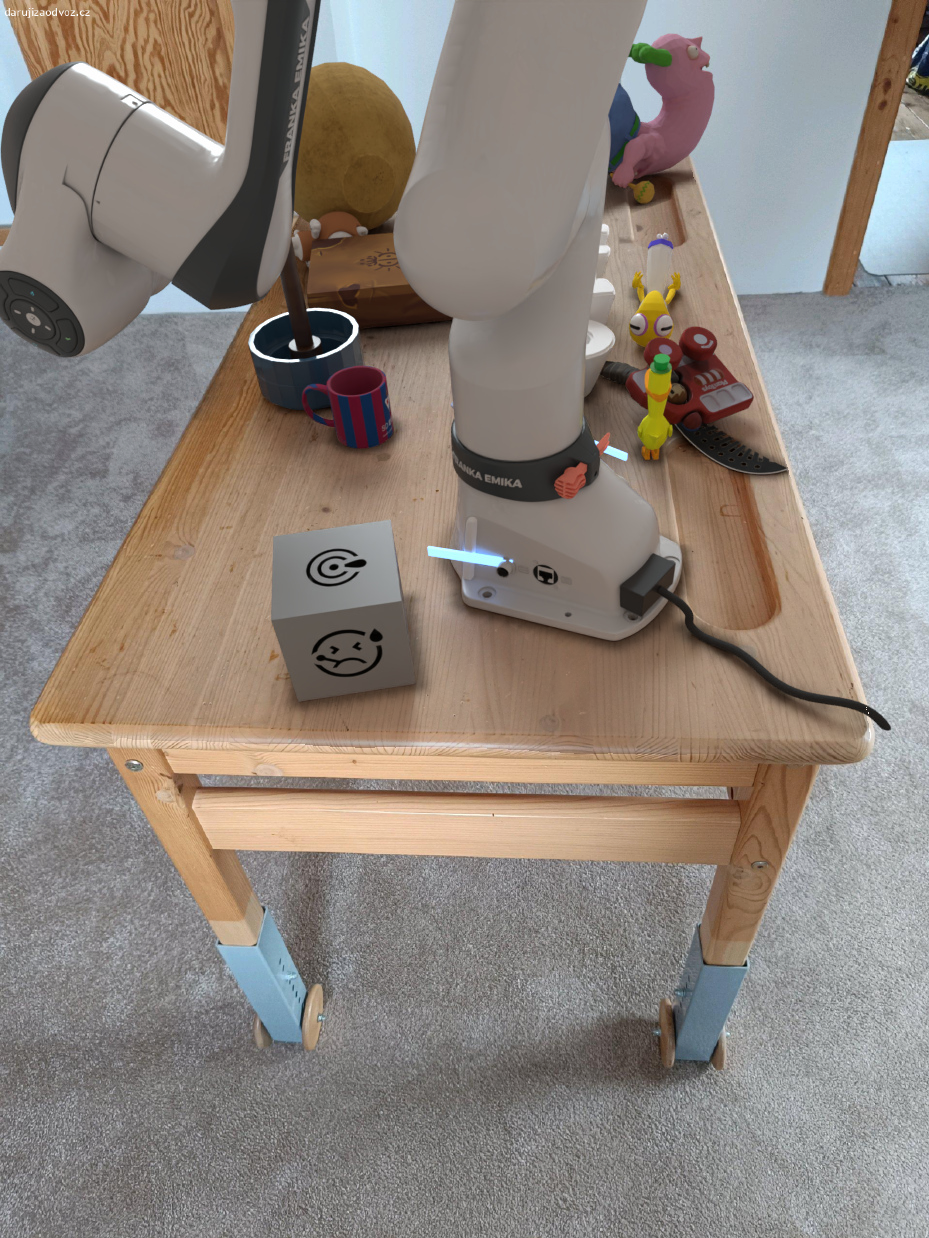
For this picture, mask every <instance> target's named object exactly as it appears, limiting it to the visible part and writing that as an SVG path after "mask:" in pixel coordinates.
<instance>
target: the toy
mask: <svg viewBox="0 0 929 1238" xmlns="http://www.w3.org/2000/svg"><path fill="white" fill-rule="evenodd" d="M702 42H703V36H697V37H694V38H689V37H688V38H687V37H685V36H682V35H680V34H678V33H665V34H663V35H660V36H659V37H658V38H657V39H655V40H654V41H653V42H652V44H649V43H646V42H638V43H633V45H632V47H631V50H630V53H629V56H628V58H631V59H632V61H633V62H635V63H637V64H642V65H644V70H645V76H646V80H647V82H648V83H649V85H650V86H651V87H652V88H653V89H654V91H655V92H656V93H658V94H659V95H660V97H661V101H662V105H661V109H660V111H659V113H658V114H657V116H655V118H654V119H652V120H650V121H648V122H646V121H642V120H641V119H640V117H639V115H638V113H637V111H636V110H635V109H634V106H633V102H632V99H631V97H630V95H629V92H627V90H626V89H625V88H624V87H623V86H622V84H621V82H619V84H618V87H617V90H616V93H615V96H614V99H613V102H612V105H611V108H610V111H609V114H608V117H609V122H610V132H611V146H610V157H609V165H608V173H607V175H608V176H610V178H611V183H614V185H615V186H619V188H623V189H624V190H625V189H626V188H628V187H629V188H631V189H632V191H633V197H634V200H635V201H636V202H638V204H641V205H642V204H643V205H644V204H648V203H650V202H651V201H652V200H653V198H654V196H655V194H656V191H655V186H654V184H653V183H652V182H650V180H642V181H640V182H638V183H637V184H634V183H633V181H634V180H638V179H640V178H642V177H644V176H647V175H652V174H656V173H660V172H664V171H666V170H669V169H671V168H673V167H675V166H677V164H679V163H680V162H682V161H683V160H684V159H686V158H688V156H689V155H691V153H692V152H694V150H695V149H696V147H697V146H698V145H699V143H700V141H701V139H702V137H703V135H704V133H705V130H706V129H707V127H708V125H709V121H710V118H711V117H712V112H713V107H714V102H715V90H716V89H715V83H714V80H713V78H714V74H713V73H712V72H711V71H709V70H703V68H704V67H705V68H706V69H707V68H709V67H710V60H711V56H710V54H709V53H707V52H706V51H705V50H703V49H702V44H703V43H702Z"/></svg>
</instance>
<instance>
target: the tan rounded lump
mask: <svg viewBox="0 0 929 1238" xmlns="http://www.w3.org/2000/svg"><path fill="white" fill-rule="evenodd" d="M416 152H417V147H416V141H415V136H414V131H413V125H412V123H411V121H410V118H409V116H408V115H407V112H406V110H405V108H404V106H403V103H402V102H401V99H399V97H398V96H397V95H396V93H395V92H394V91H393V89H391V87H390V86H389V84H387V83H386V81H385V80H384V79H382V78H380V77H379V76H377V75H376V74H374V73H373V72H371V71H370V70H368V69H367V68H365V67H363V66H360V65H356V64H353V63H350V62H347V61H335V62H333V61H332V62H330V61H329V62H323V63H320V64H317V65H314V66H312V68H311V74H310V81H309V87H308V94H307V101H306V107H305V114H304V120H303V127H302V134H301V140H300V147H299V154H298V161H297V170H296V182H295V202H294V213H295V214H297V215H298V216H299V217H300V218H301V219H302V220H303V221H305V222H307V223H308V224H310V221H311V220H312V219H316V220H319V219H320V218H321V217H322V216H323V215H325V214H328V213H331V212H337V211H340V212H346V213H349V214H351V215H353V216H354V217H355V218H356V219H357V220H358V221H359V223H360V225H361V227H365V228H366V229H367V230H368V231H370V230H374V229H377V228H378V227H380V226H381V225H383V224H384V223H386V222H387V221H388V220H390V219H391V218H393V216H394V215H396V213H397V210H398V207H399V204H400V201H401V198H402V196H403V193H404V190H405V187H406V185H407V182H408V179H409V176H410V173H411V170H412V167H413V164H414V160H415V156H416Z"/></svg>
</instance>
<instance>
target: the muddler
mask: <svg viewBox="0 0 929 1238" xmlns="http://www.w3.org/2000/svg"><path fill="white" fill-rule="evenodd" d="M299 272H300V271H299V266H298V262H297V256H295V252H294V247H293V242H292V237H291V243H290V249H289V253H288V256H287V260H286V262H285V265H284V267H283V270H282V272H281V274H280V276H279V277H280V282H281V286H282V291H283V295H284V300H285V304H286V309H287V312H288V313H289V318H290V322H291V326H292V331H293V335H294V339H293V340H292V341H291V342H290V343H289V346H288V347H289V351H290V355H291V359H292V360H294V359H306V358H311V357H315V356H319V355H323V349H322V344H321V340H320V339H319V338H318V337H316V336H312V332H311V327H310V323H309V318H308V313H307V309H308V308H307V305H306V304H307V303H306V300H305V295H304V290H303V285H302V281H301V276H300V273H299Z"/></svg>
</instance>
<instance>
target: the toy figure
mask: <svg viewBox="0 0 929 1238" xmlns="http://www.w3.org/2000/svg"><path fill="white" fill-rule="evenodd" d="M669 361H670V357H669V356H668V355H666V354H658V355H655V357H654V362H653V363H651V365H650V369H648V370H647V371H646V374H645V389H646V393H647V394H648V410H647V412H648V414H647V415H646V416H645V417H643V418H642V420H641V422H640V424H639V425H638V426H637V429H636V430H637V431H636V432H637V437H638V438H639V440H640V441H641V443H642V444H643V446H642V447H641V456H642V457H643V459H644V461H650V460H651V457H652V460H653V461H659V456H660V449H661V447H662V446H663V445H664V444H665V443H666V441H667V439H668V437H669V438H671V437H672V435H673V424H670V423H668V421H667V420H666V418H665V417H664V416H663V413H664V409H665V405H666V401H667V397H668V395H669V393H670V391H671V388H672V385H671V381H670V380H671V371H672V370H671V369H672V366H671V364H670V363H669Z"/></svg>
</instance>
